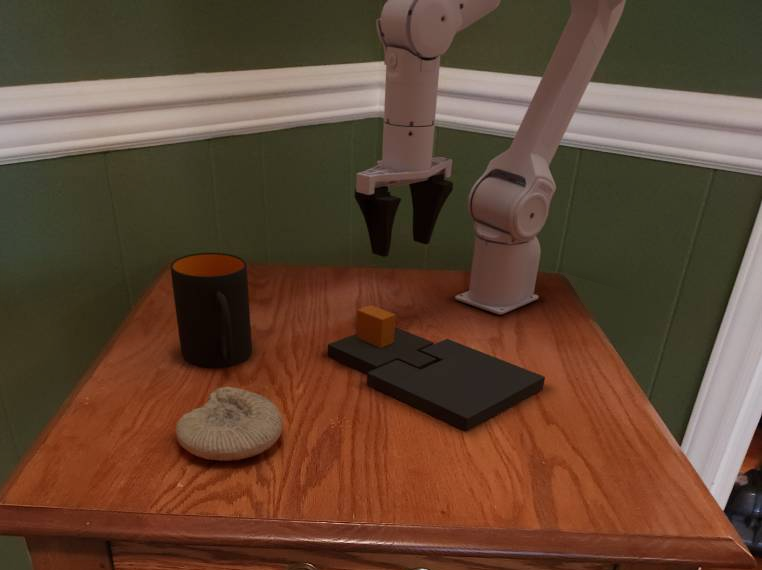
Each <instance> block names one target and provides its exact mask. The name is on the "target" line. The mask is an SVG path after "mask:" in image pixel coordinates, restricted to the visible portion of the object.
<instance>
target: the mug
mask: <svg viewBox="0 0 762 570" xmlns="http://www.w3.org/2000/svg"><path fill="white" fill-rule="evenodd" d="M169 267H170V274H171V283H172V291H173V300H174V308H175V314H176V322H177V330H178V337H179V346H180V354H181V357H182V359H183V360H184V361H185V362H186V363H188V364H190V365H193V366H194V367H195V366H196V367H199V368H207V369H208V368H209V369H221V368H222V369H223V368H228V367H234V366H237V365H239V364H243V362H246V361H247V360H249V359H250V357H251V356H252V354H253V344H252V341H253V340H252V328H251V326H252V325H251V312H250V310H251V309H250V297H249V295H250V293H249V281H248V279H249V278H248V267H247V261H245V259H244V258H241V257H240V256H237V255H234V254H231V253H223V252H198V253H191V254H187V255H183V256H180V257H178V258H176V259H174V260H173V261H172V262H171V263H170V266H169Z"/></svg>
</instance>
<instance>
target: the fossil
mask: <svg viewBox="0 0 762 570" xmlns="http://www.w3.org/2000/svg"><path fill="white" fill-rule="evenodd" d="M207 400H208V401H207V402H206V403H205V404H203V406H201V407H197V408H195V409H192V410H191V411H190V412H187V413H186V412H185V413H184V414H183V415H182V416H181V418H180V419H179V420H177V422H176V425H175V432H176V438H177V441H178V443H179V445H180V447H182V448H183V449H184V450H185V451H187V452H188V453H190V454H191V455H194V456H195V457H198V458H203V459H205V460H208V461H209V460H211V461H219V462H222V461H224V462H227V461H240V460H245V459H248V458H252V457H255V456H257V455H261V454H262V453H264V452H266V451H267V450H269V449H271V447H272V446H274V444H276V443H277V441H278V440H279V439H280V436H281V435H282V431H283V418H282V415H281V414H282V413H281V412H280V410H279V408H278V407H277V406H276V405H275V403H274V402H272V401H271V400H269V398H268V397H265V396H264V395H261V394H258V393H255V392H254V391H253V392H251V391H250V390H246V389H242V388H238V387H232V386H223V387H220V386H219V387H218V388H216V389H215V390H214V391H212V392H211V393H210V394H209V395H208V396H207Z"/></svg>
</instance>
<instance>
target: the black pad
mask: <svg viewBox="0 0 762 570" xmlns="http://www.w3.org/2000/svg"><path fill="white" fill-rule="evenodd" d="M396 317H397V316H396V314H395V313H393V312H391V311H388V310H386V309H382V308H379V307H377V306H375V305H373V304H370V305H367V306H364V307H361V308H359V309H357V310H356V333H354V334H352V335H349V336H346V337H343V338H341V339H338V340H336V341H333V342H330V343H328V344H327V357H329V358H331V359H334V360H336V361H338V362H340V363H342V364H344V365H347V366H349V367H351V368H353V369H356V370H358V371H360V372H362V373H364V374H366V375H367V373H368V372H370V371H372V370H375V369H377V368H379V367H382V366H384V365H386V364H389V363H391V362H393V361H396V360H399V361H401V362H403V363H406V364H408V365H410V366H413V367H415V368H417V369H420V370H421V369H423V368H426V367H428V366H430V365H432V364H435V363H436V358H433V357H431V356H428V355H426V354H424V353H421V352H420V350H422V349H424V348H426V347H429V346H431V345H433V344H435V343H434V342H433V341H432V340H429V339H427V338H424V337H421V336H420V335H416V334H414V333H411V332H409V331H407V330H404V329H401V328H399V327H397V326H396Z"/></svg>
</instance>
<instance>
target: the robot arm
mask: <svg viewBox="0 0 762 570" xmlns="http://www.w3.org/2000/svg"><path fill="white" fill-rule="evenodd" d="M568 1H569V3H570V9H571V13H570V15H569V18H568V20H567V23H566V25H565V27H564V29H563V31H562V33H561V36H560V38H559V40H558V42H557V44H556V46H555V48H554V51H553V52H552V54H551V57H550V60H549V62H548V64H547V66H546V68H545V70H544V72H543V75H542V77H541V79H540V81H539V83H538V86H537V88H536V90H535V92H534V94H533V97H532V99H531V101H530V103H529V105H528V108H527V109H526V112H525V114H524V115H523V118H522V120H521V123H520V125H519V127H518V129H517V131H516V133H515V135H514V138H513V140H512V143H511V144H510V147H509V148H508V149H506V150H505V151H503V152H502V153H500V154H498V155H497V156H495V157H494V158H492V159H490V161H489V163H488V164H487V167H486V169H485V171H483V172H484V173H482V175H481V176H480V177H479V178H478V179H477V180H476V181H475V183H474V184H473V186H471V187H472V188H470V191H469V195H468V197H467V198H468V199H467V212H468V215H469V217H470V219H471V220H472V221H473V231H475V240H474V248H473V256H472V263H471V271H470V280H469V286H468V287H469V288H468V290H467V291H464V292H462V293H460V294H457V295H455V297H454V299H455V300H456V301H459V302H460V303H465V304H466V305H469V306H473V307H476V308H479V309H481V310H485V311H487V312H490V313H491V314H496V315H498V316H501V315H505V314H506V313H509V312H511V311H514V310H516V309H518V308H521V307H523V306H525V305H527V304H530V303H532V302H536V301H537V300H539V295H538V294H535V287H536V281H537V277H538V272H539V271H538V270H539V265H540V260H541V252H542V249H541V245H540V241H539V238H538V237H537V235H538V234H539V233H540V231H541V230H543V228H544V226H545V224H546V221H547V220H548V215H549V210H550V206H551V205H550V204H551V201H552V199H553V196H554V195H555V192H556V190H557V186H556V182H555V180H554V178H553V175H552V173H551V170H550V164H551V163H552V160H553V159H554V157H555V154H556V152H557V150H558V148H559V146H560V145H561V142H562V140H563V137H564V135H565V133H566V131H567V130H568V127H569V124H570V123H571V121H572V119H573V117H574V115H575V113H576V111H577V108H578V106H579V104H580V103H581V100H582V99H583V96H584V94H585V92H586V90H587V88H588V85H589V84H590V81H592V80H591V79H592V78H593V75H594V73H595V71H596V69H597V68H598V65H599V64H600V61H601V59H602V56H603V55H604V53H605V51H606V49H607V46H608V44H609V42H610V40H611V38H612V36H613V34H614V32H615V30H616V28H617V26H618V23H619V22H620V19H621V17H622V14H623V11H624V9H625V5H626V1H627V0H568ZM501 2H502V0H387V1H386V2H384V5H383V8H382V10H381V13H380V18H377V19H376V22H375V24H376V25H375V26H376V32H377V36H378V39H379V42H380V44H381V45H382V47H383V51H384V62H383V63H384V65H385V84H384V85H385V86H384V88H385V89H384V105H383V106H384V107H383V109H384V110H383V131H382V132H383V134H382V153H381V154H382V155H381V159H380V160H377V161H376V165H375V166H373V167H371V168H368V169H366V170H364V171H360V172H356V185H355V188H354V200H355V201H356V203H357V205H358V207H359V209H360V211H361V213H362V216H363V219H364V221H365V225H366V229H367V233H368V237H369V243H370V249H371V253H372V254H373V255H377V256H379V257H382V258H385V257H388V256H389V253H390V250H391V244H392V243H391V242H392V235H393V234H392V233H393V227H394V223H395V218H396V215H397V211H398V209H399V206H400V204H401V201H402V198H401V197H398V196H395V195H391V191H389V189H392V188H397V187H402V186H406V185H409V190H410V195H411V203H412V204H411V205H412V238H413V242H415V243H418V244H419V243H420V244H422V245H429V244H430V241H431V239H432V236H433V232H434V230H435V226H436V223H437V221H438V217H439V215H440V213H441V211H442V208H443V207H444V206H445V205H444V204H445V203H446V202H447V200H448V197H449V196H450V195H451V193H452V192H453V190H454V189H453V188H454V182H453V181H451V180H447V178H451V175H452V167H453V159H451V158H447V157H441V156H437V157H433V151H434V150H433V149H434V138H435V127H436V115H437V114H436V113H437V104H438V103H437V101H438V100H437V99H438V92H439V91H438V89H439V78H440V68H441V67H440V66H441V56H442V55H445V53H446V52H447V51H448V49H449V48H450V46H451V45H452V43H453V40H454V37H455V35H457V34H458V33H460V32H461V31H463V30H465V29H466V28H468V27H469V26H471V25H473V24H475V23H476V22H477V21H479V20H481V19H483V17H485V16H487V15H488V14H490V13H491V12H493V11H495V10H496V9H497V8H498V7H499V5H500V3H501Z"/></svg>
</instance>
